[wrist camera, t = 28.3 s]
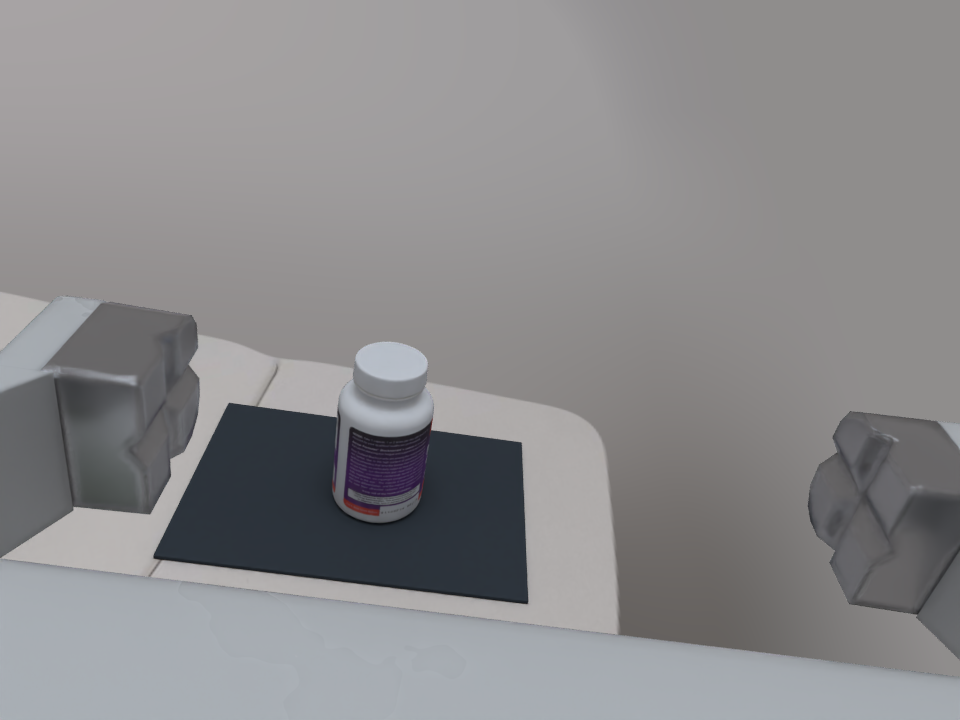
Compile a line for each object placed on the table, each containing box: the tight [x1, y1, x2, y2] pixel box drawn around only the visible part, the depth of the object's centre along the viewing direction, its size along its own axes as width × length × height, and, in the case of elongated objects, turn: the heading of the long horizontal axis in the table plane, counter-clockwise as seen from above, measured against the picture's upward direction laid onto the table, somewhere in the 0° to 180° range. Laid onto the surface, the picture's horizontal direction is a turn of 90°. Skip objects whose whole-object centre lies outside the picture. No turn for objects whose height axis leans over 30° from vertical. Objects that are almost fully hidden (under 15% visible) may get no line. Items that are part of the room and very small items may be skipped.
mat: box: [154, 403, 528, 604], centre depth 49 cm, size 20×14×1 cm
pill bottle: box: [332, 342, 434, 523], centre depth 46 cm, size 5×5×10 cm
